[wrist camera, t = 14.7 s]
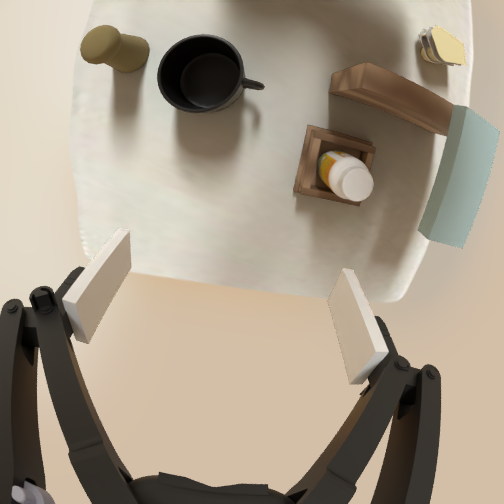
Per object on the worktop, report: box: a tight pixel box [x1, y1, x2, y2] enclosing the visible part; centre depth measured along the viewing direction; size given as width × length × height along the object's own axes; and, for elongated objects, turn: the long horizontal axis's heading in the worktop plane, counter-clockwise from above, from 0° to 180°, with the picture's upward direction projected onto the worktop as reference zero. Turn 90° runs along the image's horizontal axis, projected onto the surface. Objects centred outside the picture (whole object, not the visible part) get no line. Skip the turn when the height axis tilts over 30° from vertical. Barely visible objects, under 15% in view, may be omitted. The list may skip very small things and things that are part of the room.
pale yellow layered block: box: [419, 26, 466, 66], centre depth 25 cm, size 10×9×6 cm
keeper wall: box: [329, 62, 453, 136], centre depth 27 cm, size 3×19×12 cm, turn 80°
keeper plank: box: [418, 105, 500, 248], centre depth 24 cm, size 16×7×2 cm, turn 170°
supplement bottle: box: [317, 149, 374, 201], centre depth 33 cm, size 5×5×10 cm
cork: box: [80, 25, 150, 73], centre depth 24 cm, size 6×6×11 cm
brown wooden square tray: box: [293, 125, 376, 206], centre depth 36 cm, size 10×10×3 cm
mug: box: [157, 34, 265, 113], centre depth 28 cm, size 9×12×9 cm
